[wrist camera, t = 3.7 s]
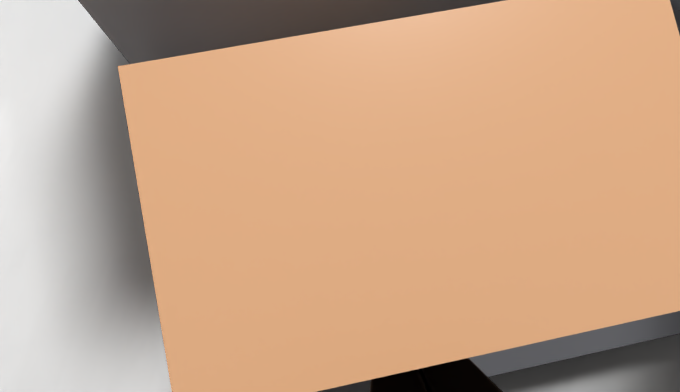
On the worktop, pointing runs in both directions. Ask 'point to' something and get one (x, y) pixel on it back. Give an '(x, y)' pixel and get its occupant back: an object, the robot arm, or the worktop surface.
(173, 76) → the tan rectangular block
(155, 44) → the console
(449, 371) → the robot arm
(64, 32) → the worktop surface
